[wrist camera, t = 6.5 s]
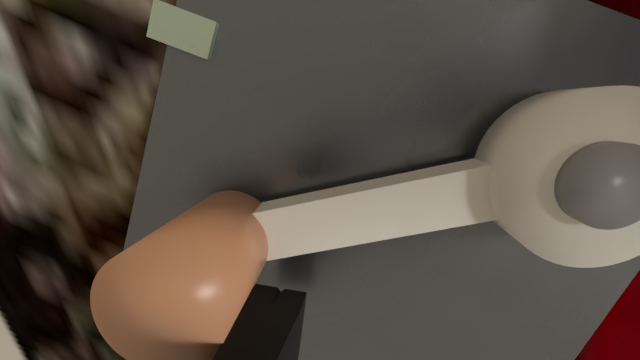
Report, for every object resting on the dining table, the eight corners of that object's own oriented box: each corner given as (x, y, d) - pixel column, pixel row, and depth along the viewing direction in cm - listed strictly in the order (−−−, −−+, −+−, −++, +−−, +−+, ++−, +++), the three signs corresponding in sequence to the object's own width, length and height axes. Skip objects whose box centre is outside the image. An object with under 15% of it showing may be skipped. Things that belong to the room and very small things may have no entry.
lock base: (731, 77, 8) (793, 71, 7) (470, 458, 12) (483, 495, 11) (206, -121, 8) (183, -156, 7) (111, 321, 12) (86, 344, 11)
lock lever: (637, 223, 8) (883, 324, 4) (215, 294, 10) (133, 409, 6) (634, 71, 7) (934, 34, 4) (175, 177, 9) (51, 226, 5)
